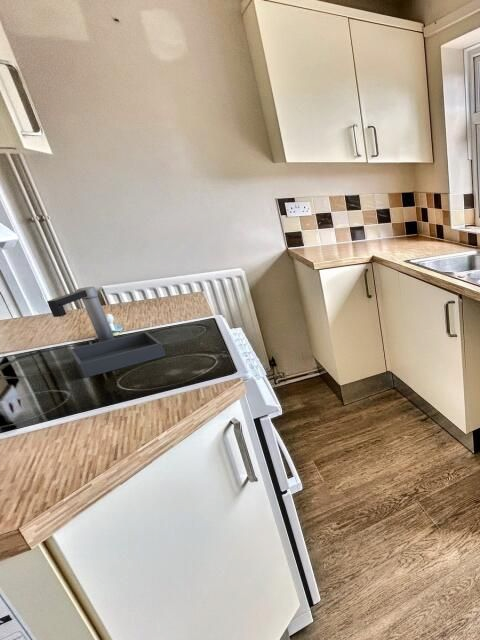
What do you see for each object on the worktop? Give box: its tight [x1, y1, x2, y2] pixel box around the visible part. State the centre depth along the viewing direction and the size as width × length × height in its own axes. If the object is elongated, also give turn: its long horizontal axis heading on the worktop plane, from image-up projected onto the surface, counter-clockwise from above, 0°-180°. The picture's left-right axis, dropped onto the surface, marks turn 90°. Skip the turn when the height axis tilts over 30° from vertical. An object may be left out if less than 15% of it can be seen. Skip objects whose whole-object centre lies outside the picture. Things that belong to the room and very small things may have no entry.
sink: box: [68, 331, 167, 379], centre depth 105 cm, size 15×14×4 cm
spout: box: [46, 286, 99, 318], centre depth 103 cm, size 3×13×4 cm, turn 11°
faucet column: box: [81, 296, 116, 342], centre depth 110 cm, size 6×6×14 cm
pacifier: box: [94, 313, 123, 339], centre depth 120 cm, size 7×6×6 cm
